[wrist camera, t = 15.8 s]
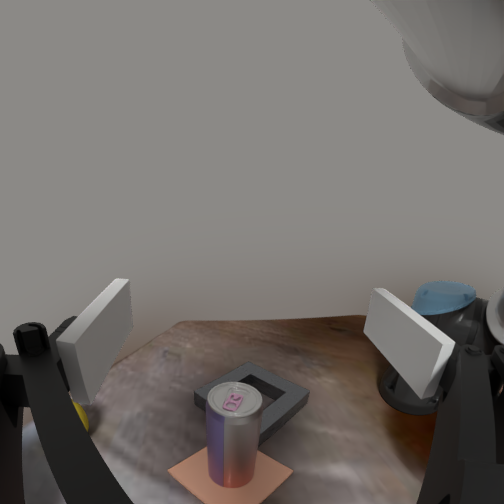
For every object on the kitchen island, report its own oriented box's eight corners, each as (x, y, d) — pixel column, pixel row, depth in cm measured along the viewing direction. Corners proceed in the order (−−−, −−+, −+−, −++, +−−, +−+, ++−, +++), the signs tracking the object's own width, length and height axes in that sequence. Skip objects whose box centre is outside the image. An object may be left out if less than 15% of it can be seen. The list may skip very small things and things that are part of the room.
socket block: (247, 373, 56) (248, 361, 56) (307, 403, 48) (310, 390, 47) (194, 403, 46) (194, 391, 45) (258, 446, 37) (259, 434, 37)
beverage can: (201, 481, 29) (195, 406, 26) (218, 453, 35) (219, 375, 31) (245, 495, 27) (254, 423, 24) (259, 464, 33) (270, 388, 30)
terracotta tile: (228, 433, 40) (228, 431, 39) (292, 472, 32) (293, 470, 32) (168, 472, 30) (167, 469, 30) (234, 525, 23) (234, 523, 23)
